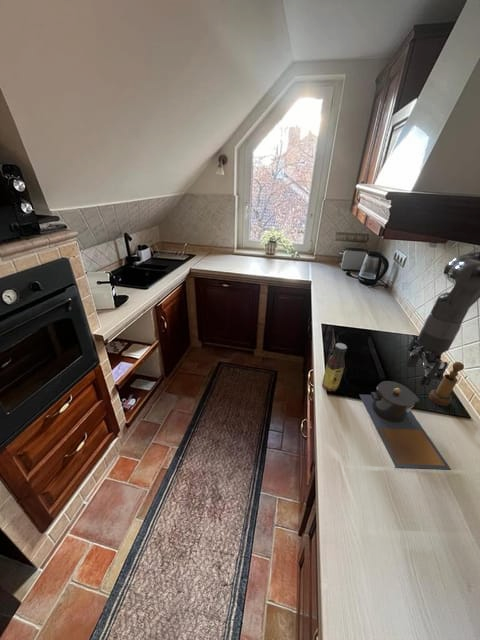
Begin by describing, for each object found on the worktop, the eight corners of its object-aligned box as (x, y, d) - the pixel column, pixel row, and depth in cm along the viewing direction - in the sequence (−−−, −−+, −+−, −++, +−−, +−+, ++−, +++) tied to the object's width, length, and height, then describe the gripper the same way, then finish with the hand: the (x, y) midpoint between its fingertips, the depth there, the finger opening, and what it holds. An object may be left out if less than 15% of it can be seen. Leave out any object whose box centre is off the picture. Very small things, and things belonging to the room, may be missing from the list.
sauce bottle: (331, 395, 97) (343, 354, 88) (318, 385, 102) (328, 345, 92) (341, 387, 101) (353, 347, 91) (327, 378, 105) (338, 339, 95)
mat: (400, 396, 98) (400, 395, 97) (450, 470, 73) (451, 469, 73) (358, 395, 98) (358, 394, 98) (395, 468, 74) (395, 467, 73)
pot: (401, 397, 96) (410, 377, 91) (419, 424, 86) (431, 403, 81) (361, 396, 97) (368, 375, 91) (374, 422, 86) (383, 401, 81)
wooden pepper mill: (431, 390, 101) (451, 354, 92) (451, 400, 96) (474, 364, 87) (425, 398, 97) (446, 362, 88) (445, 409, 93) (469, 372, 84)
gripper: (470, 347, 63) (442, 394, 71) (439, 319, 75) (419, 362, 83) (437, 344, 63) (413, 391, 72) (412, 316, 76) (394, 359, 84)
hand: (416, 375), depth 77 cm, fingers open, 8 cm apart
